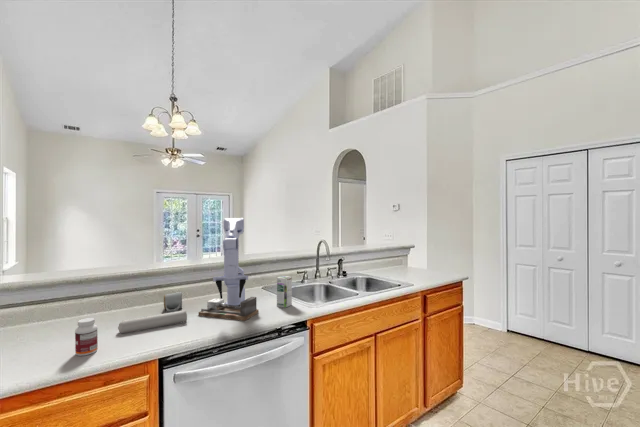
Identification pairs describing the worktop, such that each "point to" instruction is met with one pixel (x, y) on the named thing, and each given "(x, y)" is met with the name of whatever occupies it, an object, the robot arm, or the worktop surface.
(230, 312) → the gauge base
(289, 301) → the syrup box
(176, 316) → the tube
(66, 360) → the worktop surface
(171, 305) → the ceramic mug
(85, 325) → the pill bottle
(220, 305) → the gauge carriage
